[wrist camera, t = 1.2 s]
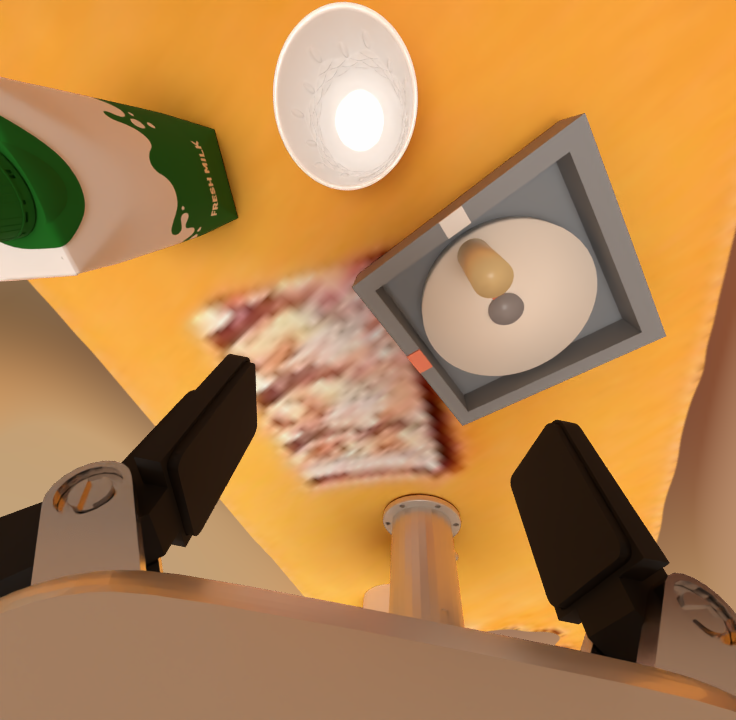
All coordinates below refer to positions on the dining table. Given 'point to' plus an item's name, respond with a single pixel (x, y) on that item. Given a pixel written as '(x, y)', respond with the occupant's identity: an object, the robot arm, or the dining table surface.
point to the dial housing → (537, 200)
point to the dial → (508, 296)
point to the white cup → (345, 96)
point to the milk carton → (99, 182)
